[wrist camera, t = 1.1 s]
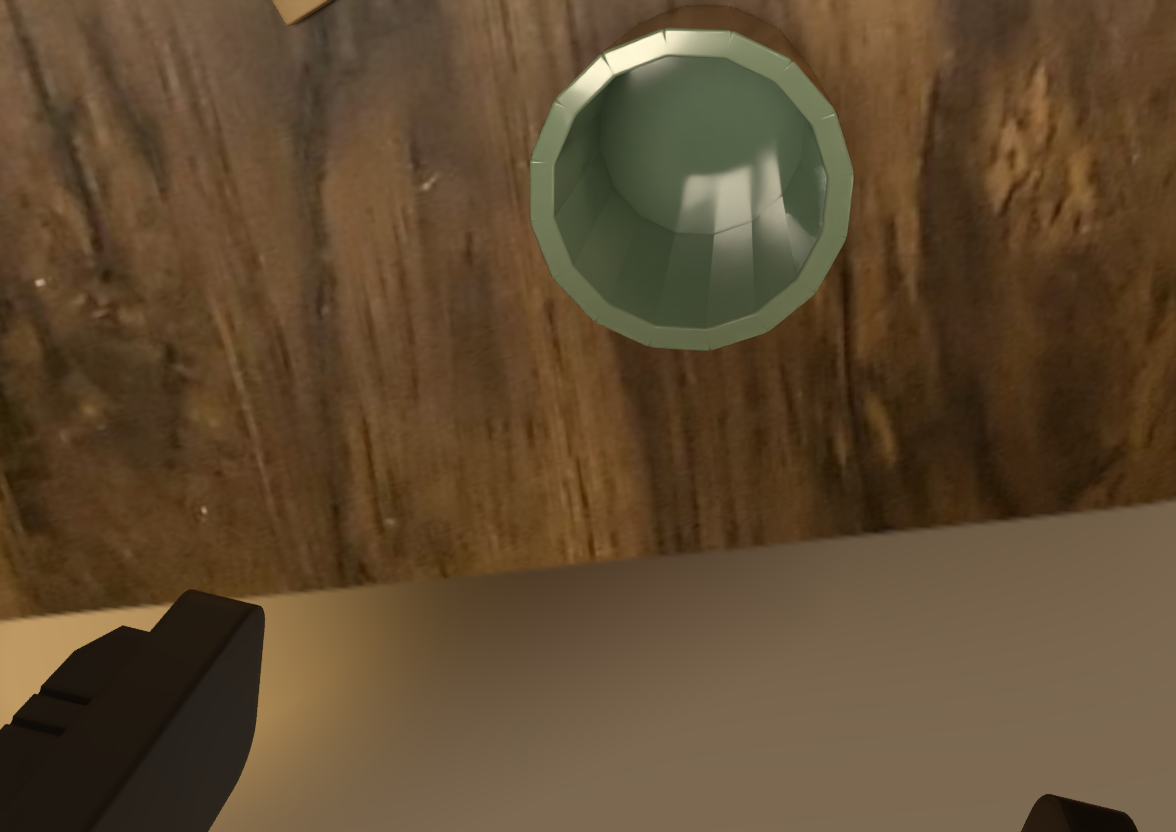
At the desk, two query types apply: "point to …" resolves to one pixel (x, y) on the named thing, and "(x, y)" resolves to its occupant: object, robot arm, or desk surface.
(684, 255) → the pot
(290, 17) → the spatula
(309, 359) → the desk surface
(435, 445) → the desk surface
